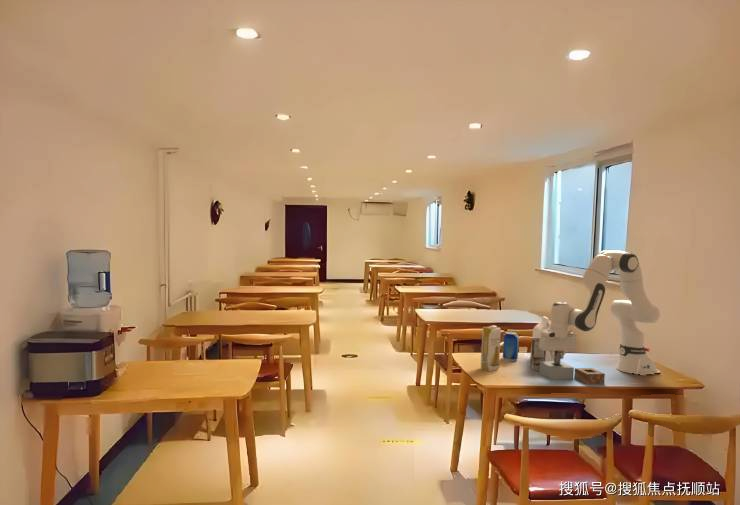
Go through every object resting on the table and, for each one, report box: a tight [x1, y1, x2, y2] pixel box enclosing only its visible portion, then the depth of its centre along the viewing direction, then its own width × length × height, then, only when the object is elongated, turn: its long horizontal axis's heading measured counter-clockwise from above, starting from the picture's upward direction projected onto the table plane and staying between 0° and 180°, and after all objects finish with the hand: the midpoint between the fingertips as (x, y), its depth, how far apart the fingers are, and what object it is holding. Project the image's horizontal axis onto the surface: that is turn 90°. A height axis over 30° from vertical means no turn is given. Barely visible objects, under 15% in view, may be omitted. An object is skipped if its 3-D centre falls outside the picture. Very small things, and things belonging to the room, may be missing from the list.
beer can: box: [502, 331, 520, 362], centre depth 275 cm, size 8×8×16 cm
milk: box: [529, 316, 554, 361], centre depth 275 cm, size 12×12×26 cm
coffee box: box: [530, 338, 546, 372], centre depth 259 cm, size 9×6×16 cm
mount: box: [573, 367, 606, 385], centre depth 241 cm, size 10×10×5 cm
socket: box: [539, 360, 575, 381], centre depth 247 cm, size 12×12×6 cm
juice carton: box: [480, 325, 502, 372], centre depth 254 cm, size 9×8×24 cm
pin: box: [554, 350, 562, 366], centre depth 247 cm, size 4×4×13 cm
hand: (557, 358), depth 247 cm, fingers closed on pin, 3 cm apart
